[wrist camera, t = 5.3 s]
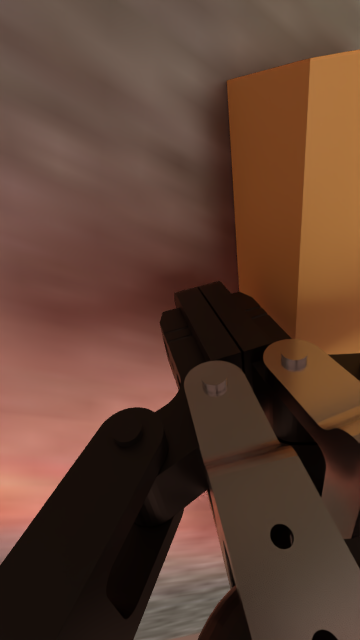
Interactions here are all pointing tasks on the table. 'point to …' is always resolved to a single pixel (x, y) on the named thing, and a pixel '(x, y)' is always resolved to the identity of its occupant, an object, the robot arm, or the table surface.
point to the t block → (300, 196)
